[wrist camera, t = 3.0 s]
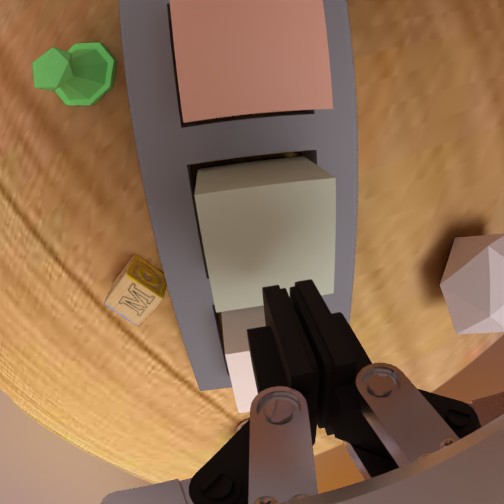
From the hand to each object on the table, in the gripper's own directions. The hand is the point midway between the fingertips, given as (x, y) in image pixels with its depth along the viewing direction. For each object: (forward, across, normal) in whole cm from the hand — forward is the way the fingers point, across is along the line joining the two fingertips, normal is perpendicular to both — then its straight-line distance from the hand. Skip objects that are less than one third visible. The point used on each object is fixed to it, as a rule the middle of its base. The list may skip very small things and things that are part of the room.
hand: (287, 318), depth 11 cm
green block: (+9, 0, -1) cm, 9 cm away
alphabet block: (+12, +8, +4) cm, 15 cm away
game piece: (+12, +9, -11) cm, 18 cm away
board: (+11, 0, -1) cm, 11 cm away
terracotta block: (+9, 0, -10) cm, 13 cm away
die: (+12, -19, +7) cm, 24 cm away
